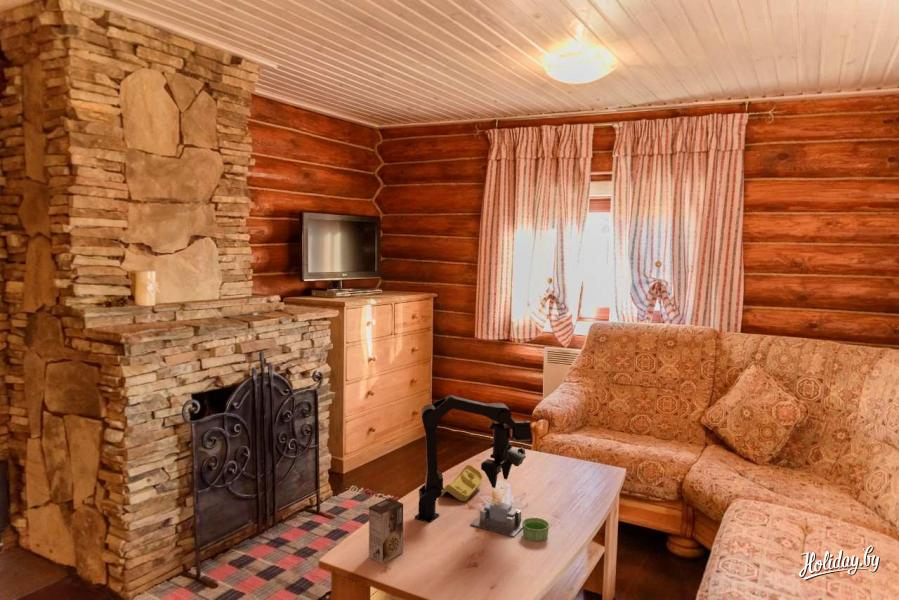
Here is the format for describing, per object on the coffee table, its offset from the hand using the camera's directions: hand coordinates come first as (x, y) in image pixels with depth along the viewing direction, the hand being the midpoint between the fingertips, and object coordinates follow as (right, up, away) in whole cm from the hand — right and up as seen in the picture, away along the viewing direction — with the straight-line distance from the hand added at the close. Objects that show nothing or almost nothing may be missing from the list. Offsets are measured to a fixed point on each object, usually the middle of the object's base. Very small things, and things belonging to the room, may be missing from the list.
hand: (499, 483), depth 217 cm
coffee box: (-37, -14, -27) cm, 49 cm away
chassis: (0, -13, -4) cm, 13 cm away
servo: (0, -12, -4) cm, 13 cm away
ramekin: (+11, -14, -13) cm, 22 cm away
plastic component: (-12, -10, +22) cm, 27 cm away
